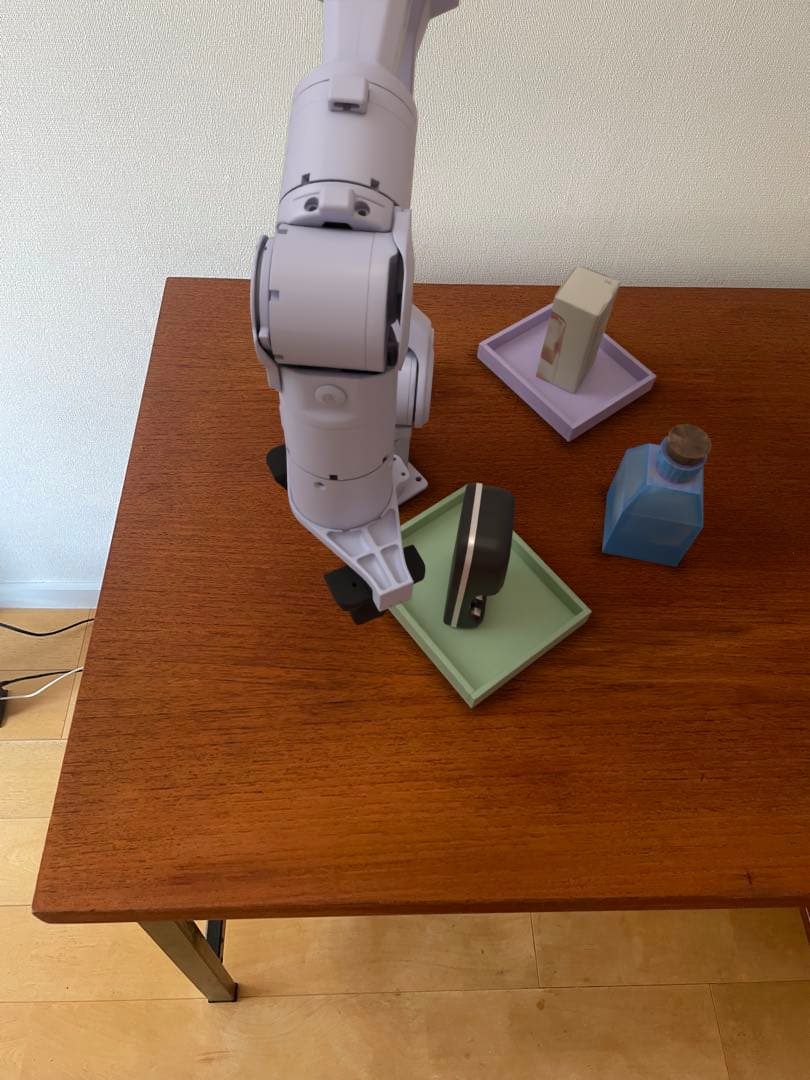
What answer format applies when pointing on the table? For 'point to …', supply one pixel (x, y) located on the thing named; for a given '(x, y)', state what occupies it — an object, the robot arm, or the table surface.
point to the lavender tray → (567, 413)
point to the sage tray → (510, 616)
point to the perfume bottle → (658, 498)
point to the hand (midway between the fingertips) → (344, 569)
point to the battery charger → (479, 553)
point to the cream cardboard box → (576, 327)
